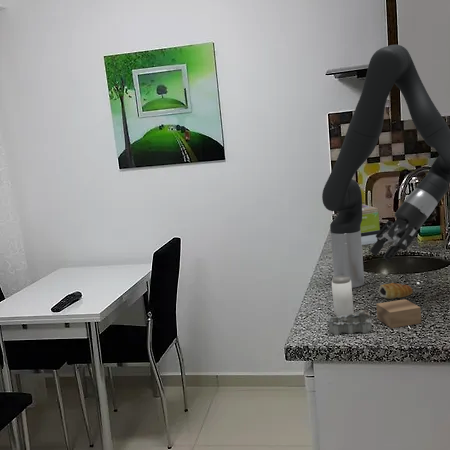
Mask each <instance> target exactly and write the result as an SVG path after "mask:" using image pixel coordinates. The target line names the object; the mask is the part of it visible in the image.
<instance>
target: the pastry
mask: <svg viewBox="0 0 450 450" xmlns="http://www.w3.org/2000/svg"><path fill="white" fill-rule="evenodd" d="M413 292H414V290H413V287H411V285H408V284H402V283H395V282H391V283H385V284H384V283H383V284H381V285H380V286H379V288H378V291H377V293H378V294H379V296H380V297H382V298H385V299H387V300H393V299H396V298H398V299H401V298H405V297H408V296H411V295H412V294H413Z"/></svg>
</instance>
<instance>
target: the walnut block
mask: <svg viewBox="0 0 450 450" xmlns="http://www.w3.org/2000/svg"><path fill="white" fill-rule="evenodd" d="M376 317H377V320H379V321H380V322H382V323H383V324H384V325H385V326H388V327H389V328H390V329H395V328H400V327H406V326H412V325H418V324H422V309H421V307H420V306H419V305H417V304H415V303H414V302H412V301H409V300H407V299H405V298H404V299H397V300H392V301H385V302H378V303H376Z"/></svg>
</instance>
